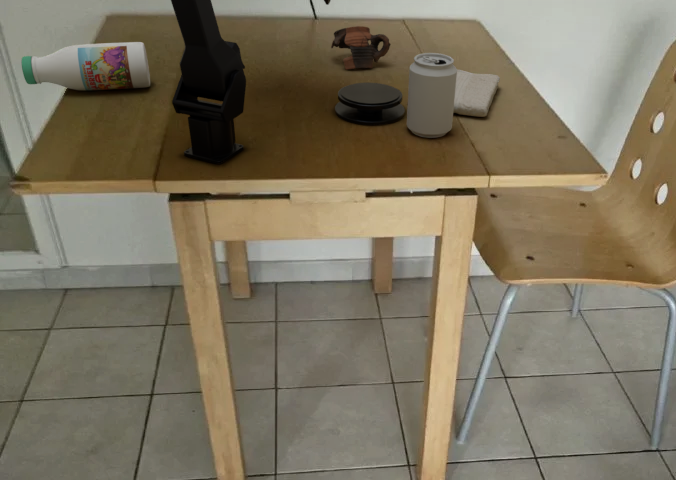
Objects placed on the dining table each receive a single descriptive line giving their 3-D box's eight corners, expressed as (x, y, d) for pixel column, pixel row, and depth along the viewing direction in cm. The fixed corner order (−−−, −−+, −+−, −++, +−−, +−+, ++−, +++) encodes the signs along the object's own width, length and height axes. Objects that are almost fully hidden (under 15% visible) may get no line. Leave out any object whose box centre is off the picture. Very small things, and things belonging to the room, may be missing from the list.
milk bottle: (151, 79, 131) (33, 86, 126) (144, 36, 127) (22, 41, 122) (151, 92, 125) (27, 100, 120) (143, 48, 121) (14, 53, 116)
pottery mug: (330, 72, 140) (323, 29, 139) (343, 79, 149) (337, 39, 148) (389, 61, 138) (383, 17, 137) (398, 69, 147) (393, 28, 146)
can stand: (386, 130, 117) (387, 110, 115) (322, 116, 120) (321, 97, 118) (415, 107, 126) (416, 88, 124) (354, 94, 129) (354, 76, 127)
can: (448, 142, 114) (454, 67, 107) (402, 136, 115) (405, 62, 108) (454, 124, 120) (461, 53, 113) (410, 119, 121) (414, 48, 114)
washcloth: (499, 86, 136) (501, 70, 134) (487, 121, 122) (489, 103, 120) (438, 79, 138) (439, 63, 136) (419, 112, 124) (420, 94, 122)
